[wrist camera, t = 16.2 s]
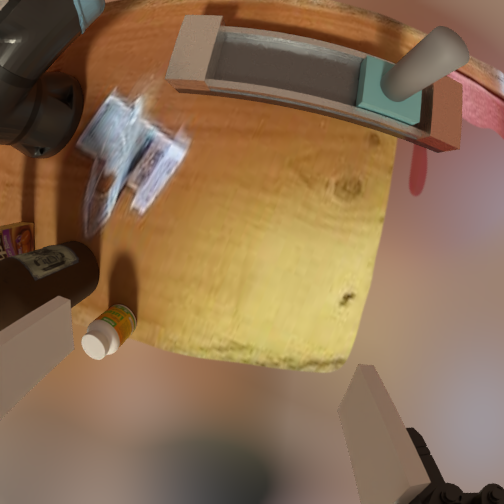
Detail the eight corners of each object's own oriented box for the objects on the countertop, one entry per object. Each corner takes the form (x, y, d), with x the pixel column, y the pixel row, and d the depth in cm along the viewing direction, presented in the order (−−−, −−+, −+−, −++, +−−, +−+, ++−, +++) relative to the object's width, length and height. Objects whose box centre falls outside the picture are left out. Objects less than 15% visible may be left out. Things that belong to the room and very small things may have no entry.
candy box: (37, 271, 43) (-21, 297, 28) (23, 267, 43) (-34, 291, 28) (35, 222, 41) (-29, 237, 26) (21, 220, 41) (-40, 234, 26)
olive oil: (99, 308, 43) (-2, 391, 19) (53, 286, 43) (-50, 345, 19) (107, 247, 41) (-20, 305, 16) (57, 229, 41) (-64, 265, 16)
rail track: (178, 92, 36) (164, 78, 30) (195, 34, 33) (185, 15, 28) (437, 152, 35) (459, 149, 29) (442, 94, 33) (462, 84, 27)
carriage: (355, 107, 33) (412, 57, 16) (360, 63, 31) (410, -1, 15) (409, 126, 32) (487, 96, 16) (413, 82, 31) (481, 37, 14)
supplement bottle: (135, 305, 42) (105, 333, 33) (139, 336, 44) (112, 367, 34) (106, 301, 43) (74, 326, 33) (110, 331, 44) (81, 359, 34)
